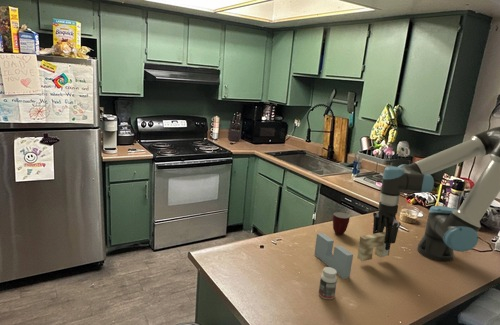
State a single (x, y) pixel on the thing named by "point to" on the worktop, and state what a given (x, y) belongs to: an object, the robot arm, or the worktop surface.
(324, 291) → the pill bottle
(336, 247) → the slate notched block
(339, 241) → the worktop surface
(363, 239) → the beige flat block
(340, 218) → the mug
